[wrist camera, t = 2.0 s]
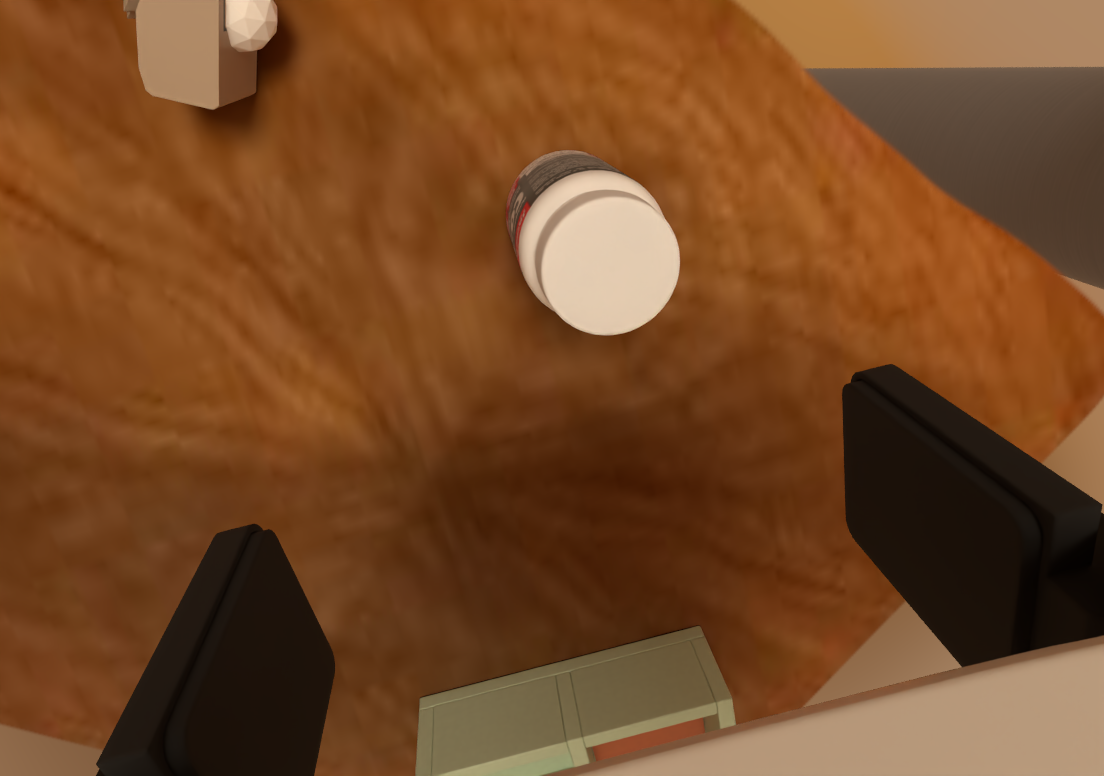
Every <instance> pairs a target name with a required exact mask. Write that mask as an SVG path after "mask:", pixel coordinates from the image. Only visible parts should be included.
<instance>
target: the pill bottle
mask: <svg viewBox="0 0 1104 776" xmlns="http://www.w3.org/2000/svg"><path fill="white" fill-rule="evenodd" d="M506 221H507V228H508V232H509V236H510V238H511V241H512V244H513V247H514V250H515V253H516V256H517V259H518V262H519V265H520V269H521V271H522V274H523V276H524V278H525V280H526V282H527V284H528V286H529V287H530V289H531V290H532V292H533V293H534V294H535V296H536V297H537V298H538V299H539V300H540V301H541V302H542V303H543V304H544V305H546V306H547V307H548V308H550V309H551V310H553V311H554V312H556V313H557V314H558V315H559V316H560V317H561V318H562V319H563V320H564V321H565V322H566V323H568V324H570V325H571V326H573V327H574V328H576V329H578V330H581V331H583V332H587V333H590V334H595V335H616V334H622V333H626V332H629V331H631V330H634V329H636V328H638V327H640V326H642V325H644V324H645V323H647V322H648V321H650V320H651V319H652V318H653V317H655V316H656V315H657V314H658V313H659V312H660V311H661V310H662V308H663V307H664V306H665V304H666V303H667V302H668V300H669V299H670V297H671V295H672V293H673V290H674V288H675V286H676V283H677V280H678V275H679V269H680V254H679V248H678V243H677V240H676V237H675V235H674V232H673V230H672V229H671V227H670V225H669V224H668V222H667V221H666V220H665V218H664V216H663V213H662V211H661V209H660V207H659V205H658V204H657V202H656V201H655V199H654V198H653V197H652V196H651V194H650V193H649V192H648V191H647V190H646V189H645V188H644V187H643V186H642V185H640V184H639V183H638V182H636V181H635V180H634V179H632V178H630V177H628V176H627V175H625V174H624V173H622V172H620V171H619V170H617V169H616V168H614V167H612V166H611V165H609V164H607V163H606V162H604V161H603V160H601V159H599V158H597V157H596V156H594V155H591V154H589V153H585V152H581V151H575V150H563V151H556V152H552V153H549V154H546V155H544V156H542V157H540V158H538V159H536V160H535V161H533V162H532V163H531V164H529V165H528V166H527V167H526V168H525V169H524V170H523V171H522V172H521V173H520V175H519V176H518V178H517V179H516V181H515V182H514V184H513V186H512V188H511V191H510V193H509V196H508V201H507V208H506Z"/></svg>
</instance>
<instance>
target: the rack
mask: <svg viewBox="0 0 1104 776" xmlns="http://www.w3.org/2000/svg"><path fill="white" fill-rule="evenodd" d="M419 710H420V711H419V722H418V740H417V758H416V776H543V775H547V774H551V773H555V772H558V771H562V770H566V769H570V768H574V767H577V766H581V765H585V764H589V763H593V762H596V761H600V760H604V759H608V758H612V757H615V756H619V755H623V754H627V753H631V752H634V751H638V750H642V749H646V748H650V747H653V746H657V745H661V744H665V743H669V742H673V741H676V740H680V739H684V738H688V737H692V736H696V735H699V734H703V733H707V732H711V731H715V730H718V729H722V728H726V727H730V726H734V725H736V722H735V715H734V708H733V701H732V697H731V694H730V692H729V690H728V688H727V685H726V683H725V681H724V679H723V676H722V674H721V672H720V669H719V667H718V665H717V663H716V660H715V658H714V656H713V654H712V651H711V649H710V647H709V645H708V642H707V640H706V638H705V636H704V633H703V631H702V629H701V627H700V626H696V627H692V628H688V629H684V630H680V631H677V632H673V633H669V634H665V635H661V636H657V637H653V638H650V639H646V640H642V641H638V642H634V643H630V644H626V645H623V646H619V647H615V648H611V649H607V650H603V651H599V652H596V653H592V654H588V655H584V656H580V657H576V658H572V659H569V660H565V661H561V662H557V663H553V664H549V665H545V666H542V667H538V668H534V669H530V670H526V671H522V672H518V673H515V674H511V675H507V676H503V677H499V678H495V679H491V680H488V681H484V682H480V683H476V684H472V685H468V686H465V687H461V688H457V689H453V690H449V691H445V692H441V693H438V694H434V695H430V696H426V697H422V698H420V706H419Z"/></svg>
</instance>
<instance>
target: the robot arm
mask: <svg viewBox="0 0 1104 776" xmlns="http://www.w3.org/2000/svg"><path fill="white" fill-rule="evenodd" d="M842 401H843V436H844V472H845V507H846V522H847V526H848V528H849V531H850V533H851V535H852V537H853V538H854V540H855V541H856V542H857V544H858V545H859V546H860V547H861V548H862V549H863V551H864V552H865V553H866V554H867V555H868V557H869V558H870V559H871V560H872V561H873V562H874V564H875V565H876V566H877V567H878V568H879V570H880V571H881V572H882V573H883V574H884V575H885V577H886V578H887V579H888V580H889V581H890V582H891V584H892V585H893V586H894V587H895V588H896V590H897V591H898V592H899V593H900V594H901V595H902V597H903V598H904V599H905V600H906V601H907V603H908V604H909V605H910V606H911V607H912V608H913V610H914V611H915V612H916V613H917V614H918V616H919V617H920V618H921V619H922V620H923V621H924V623H925V624H926V625H927V626H928V627H929V629H930V630H932V632H933V633H934V634H935V636H936V637H937V638H938V639H939V640H940V641H941V643H942V644H943V645H944V646H945V647H946V648H947V650H948V651H949V652H950V653H951V654H952V656H953V657H954V658H955V659H956V660H957V661H958V662H959V664H960V665H961V666H962V668H958V669H953V670H949V671H945V672H941V673H937V674H933V675H929V676H925V677H921V678H917V679H913V680H909V681H905V682H902V683H897V684H894V685H890V686H886V687H882V688H878V689H874V690H870V691H866V692H862V693H859V694H855V695H851V696H847V697H843V698H839V699H835V700H831V701H827V702H823V703H819V704H816V705H811V706H808V707H804V708H800V709H796V710H792V711H788V712H784V713H780V714H776V715H772V716H769V717H765V718H761V719H757V720H753V721H749V722H745V723H741V724H738V725H734V726H730V727H726V728H722V729H718V730H715V731H711V732H707V733H703V734H699V735H696V736H692V737H688V738H684V739H680V740H676V741H673V742H669V743H665V744H661V745H657V746H653V747H650V748H646V749H642V750H638V751H634V752H631V753H627V754H623V755H619V756H615V757H612V758H608V759H604V760H600V761H596V762H593V763H589V764H585V765H581V766H577V767H574V768H570V769H566V770H562V771H558V772H555V773H551V774H547V775H543V776H1104V514H1103V513H1101V510H1102V504H1101V503H1099V502H1098V501H1096V500H1095V499H1093V498H1092V497H1090V496H1089V495H1087V494H1086V493H1084V492H1083V491H1081V490H1080V489H1078V488H1077V487H1075V486H1074V485H1072V484H1071V483H1069V482H1068V481H1066V480H1065V479H1063V478H1062V477H1060V476H1059V475H1057V474H1056V473H1055V472H1053V471H1052V470H1050V469H1048V468H1047V467H1046V466H1044V465H1043V464H1041V463H1040V462H1038V461H1037V460H1035V459H1034V458H1032V457H1031V456H1029V455H1028V454H1026V453H1025V452H1023V451H1022V450H1020V449H1019V448H1017V447H1016V446H1014V445H1013V444H1011V443H1010V442H1008V441H1007V440H1005V439H1004V438H1003V437H1001V436H1000V435H998V434H997V433H995V432H994V431H992V430H991V429H989V428H988V427H986V426H985V425H983V424H982V423H980V422H979V421H977V420H976V419H974V418H973V417H971V416H970V415H968V414H967V413H965V412H964V411H962V410H961V409H959V408H958V407H956V406H955V405H953V404H952V403H950V402H949V401H947V400H946V399H945V398H943V397H942V396H940V395H939V394H937V393H936V392H934V391H933V390H931V389H930V388H928V387H927V386H925V385H924V384H922V383H921V382H919V381H918V380H916V379H915V378H913V377H912V376H910V375H909V374H907V373H906V372H904V371H903V370H901V369H900V368H898V367H897V366H895V365H893V364H889V365H884V366H880V367H876V368H872V369H868V370H864V371H860V372H856V373H855V374H854V375H853V376H852V379H851V383H849V384H846V385H845V386H844V388H843V392H842ZM334 674H335V661H334V656H333V652H332V649H331V647H330V645H329V643H328V641H327V639H326V637H325V635H324V633H323V631H322V629H321V626H320V624H319V622H318V620H317V618H316V616H315V614H314V612H313V610H312V608H311V606H310V604H309V602H308V600H307V598H306V596H305V594H304V592H303V590H302V588H301V586H300V583H299V581H298V579H297V577H296V575H295V573H294V571H293V569H292V567H291V565H290V563H289V561H288V559H287V557H286V555H285V553H284V551H283V549H282V547H281V545H280V542H279V540H278V538H277V536H276V535H275V533H274V532H273V531H272V530H269V529H268V530H264V531H263V529H262V528H261V527H260V526H259V525H257V524H251V525H247V526H243V527H239V528H235V529H231V530H227V531H223V532H220V533H217V534H216V536H215V537H214V538H213V540H212V542H211V544H210V546H209V548H208V550H207V552H206V554H205V556H204V557H203V559H202V561H201V563H200V565H199V567H198V569H197V571H196V573H195V575H194V577H193V579H192V581H191V583H190V584H189V586H188V588H187V590H186V592H185V594H184V596H183V598H182V600H181V602H180V604H179V606H178V608H177V609H176V611H175V613H174V615H173V617H172V619H171V621H170V623H169V625H168V627H167V629H166V631H165V633H164V634H163V636H162V638H161V640H160V642H159V644H158V646H157V648H156V650H155V652H154V654H153V656H152V658H151V659H150V661H149V663H148V665H147V667H146V669H145V671H144V673H143V675H142V677H141V679H140V681H139V683H138V685H137V686H136V688H135V690H134V692H133V694H132V696H131V698H130V700H129V702H128V704H127V706H126V708H125V710H124V711H123V713H122V715H121V717H120V719H119V721H118V723H117V725H116V727H115V729H114V731H113V733H112V735H111V736H110V738H109V740H108V742H107V744H106V746H105V748H104V750H103V752H102V754H101V756H100V758H99V760H98V762H97V763H96V765H97V766H98V767H99V771H98V773H97V775H96V776H314V773H315V768H316V763H317V758H318V753H319V748H320V743H321V738H322V733H323V729H324V724H325V719H326V714H327V709H328V704H329V699H330V694H331V689H332V684H333V679H334Z"/></svg>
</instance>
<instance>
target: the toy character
mask: <svg viewBox="0 0 1104 776" xmlns="http://www.w3.org/2000/svg"><path fill="white" fill-rule="evenodd" d="M124 11H127V18H136V27H137V45H138V63H139V70H140V73H141V76H142V79H143V83H144V86H145V89H146V91H147V92H149V93H150V94H151V95H153V96H156V97H160V98H165V99H169V100H173V101H177V102H182V103H186V104H190V105H194V106H199V107H203V108H207V109H212V110H214V109H217V108H219V107H222V106H225V105H227V104H230V103H233V102H235V101H238V100H240V99H243V98H246V97H248V96H251V95H253V94H254V93H256V76H257V50H259V49H262V48H263V47H264V46H265V45H266V44H267V42H268V41H269V40H270V39H271V38H272V37H273V35H274V34H275V33H276V30H277V6H276V4H275V3H274V1H273V0H124Z"/></svg>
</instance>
